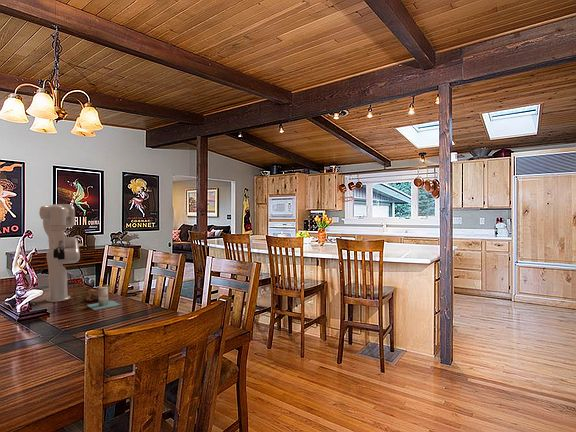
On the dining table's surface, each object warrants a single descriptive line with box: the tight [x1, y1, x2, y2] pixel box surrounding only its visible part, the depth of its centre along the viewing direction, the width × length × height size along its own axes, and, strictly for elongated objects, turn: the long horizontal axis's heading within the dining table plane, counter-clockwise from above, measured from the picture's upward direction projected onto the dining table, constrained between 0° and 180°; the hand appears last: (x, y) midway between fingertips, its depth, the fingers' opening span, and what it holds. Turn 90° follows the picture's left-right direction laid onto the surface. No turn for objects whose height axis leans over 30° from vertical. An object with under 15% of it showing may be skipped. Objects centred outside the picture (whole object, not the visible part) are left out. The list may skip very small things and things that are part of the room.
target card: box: [86, 300, 121, 311], centre depth 203 cm, size 14×14×1 cm
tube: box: [97, 286, 109, 306], centre depth 202 cm, size 5×5×10 cm
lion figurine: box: [82, 284, 110, 302], centre depth 215 cm, size 15×5×9 cm, turn 109°
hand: (59, 258), depth 198 cm, fingers open, 9 cm apart
